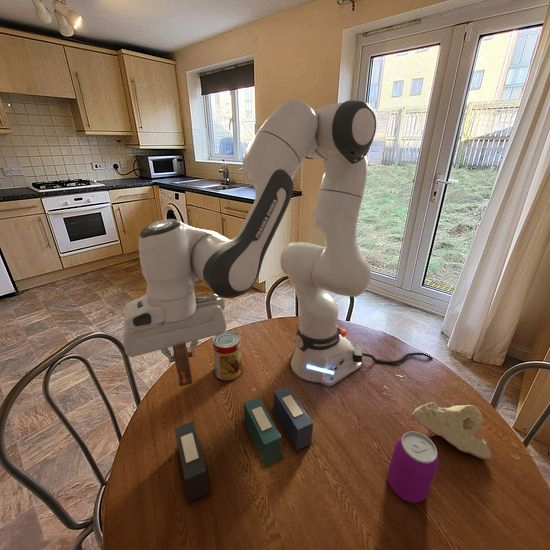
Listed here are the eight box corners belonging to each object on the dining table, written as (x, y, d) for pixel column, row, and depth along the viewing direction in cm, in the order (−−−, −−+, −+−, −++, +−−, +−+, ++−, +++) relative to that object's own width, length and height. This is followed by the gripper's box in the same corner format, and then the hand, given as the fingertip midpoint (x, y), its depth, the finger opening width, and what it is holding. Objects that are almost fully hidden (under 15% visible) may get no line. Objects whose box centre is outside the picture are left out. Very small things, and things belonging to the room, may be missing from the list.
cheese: (486, 443, 71) (448, 383, 76) (508, 448, 64) (466, 382, 69) (434, 473, 69) (399, 409, 74) (451, 483, 62) (411, 412, 67)
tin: (193, 392, 59) (192, 359, 56) (177, 396, 58) (175, 362, 55) (184, 347, 72) (183, 318, 68) (171, 350, 71) (169, 320, 67)
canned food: (246, 373, 88) (245, 341, 83) (222, 384, 84) (219, 351, 79) (234, 358, 94) (232, 327, 89) (211, 368, 90) (208, 336, 85)
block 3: (286, 405, 78) (287, 385, 75) (311, 444, 68) (313, 422, 65) (273, 411, 76) (273, 390, 73) (296, 451, 66) (297, 429, 63)
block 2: (259, 416, 74) (259, 395, 71) (280, 458, 65) (281, 436, 62) (244, 422, 73) (243, 401, 70) (264, 466, 63) (264, 444, 60)
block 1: (196, 441, 68) (193, 420, 65) (209, 492, 58) (206, 469, 55) (178, 448, 66) (174, 426, 63) (188, 502, 57) (184, 479, 54)
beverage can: (406, 512, 56) (420, 473, 51) (378, 474, 62) (388, 435, 57) (435, 495, 59) (451, 456, 54) (405, 460, 65) (417, 422, 60)
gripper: (219, 286, 65) (223, 337, 70) (116, 306, 56) (130, 362, 62) (228, 299, 59) (231, 353, 65) (116, 323, 51) (131, 382, 57)
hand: (181, 357), depth 64 cm, fingers closed on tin, 2 cm apart
